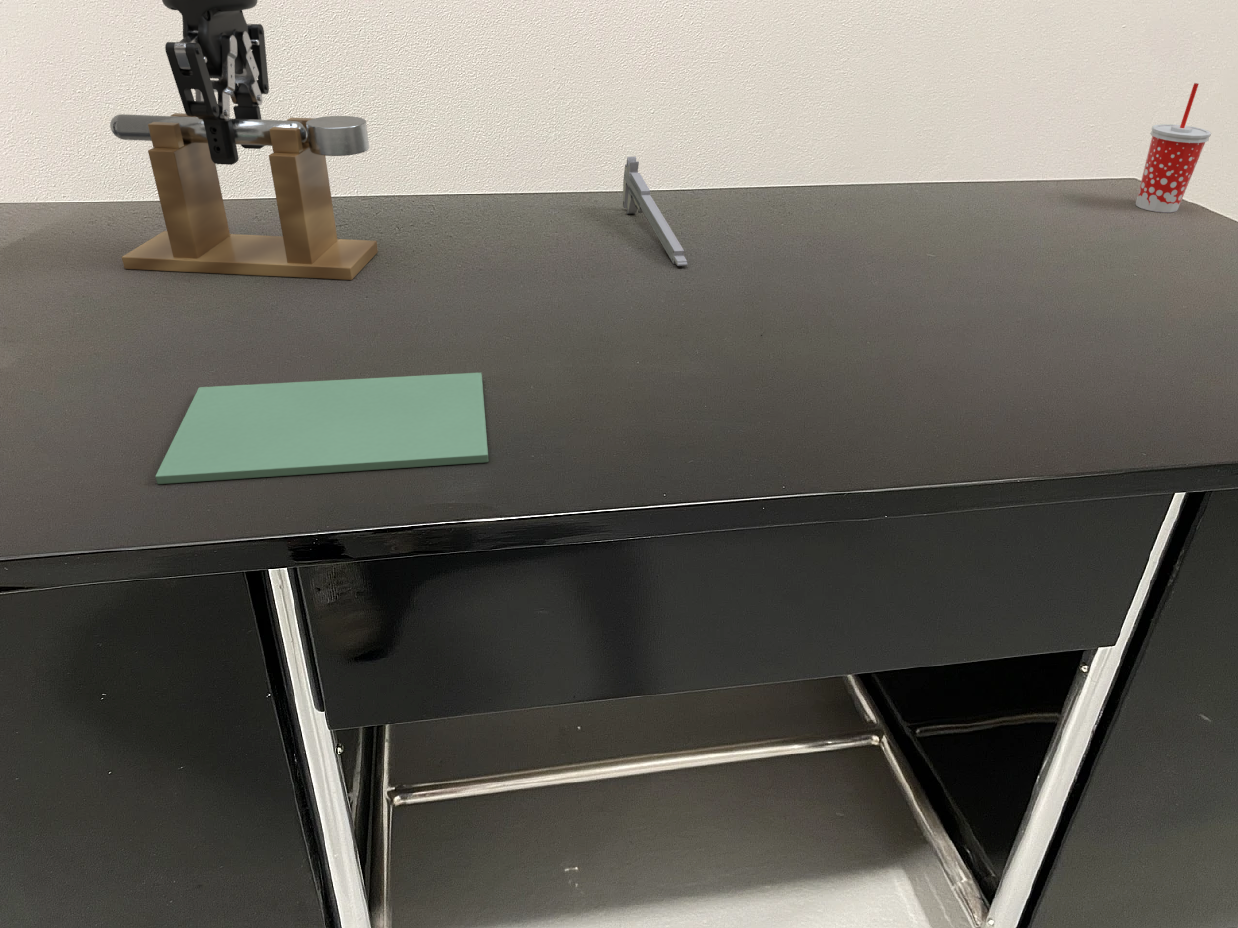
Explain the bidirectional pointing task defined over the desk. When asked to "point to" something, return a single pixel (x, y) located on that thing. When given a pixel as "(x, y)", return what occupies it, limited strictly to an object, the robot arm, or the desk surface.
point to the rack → (202, 220)
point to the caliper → (649, 210)
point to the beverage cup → (1170, 163)
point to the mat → (328, 428)
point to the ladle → (259, 131)
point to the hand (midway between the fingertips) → (239, 154)
